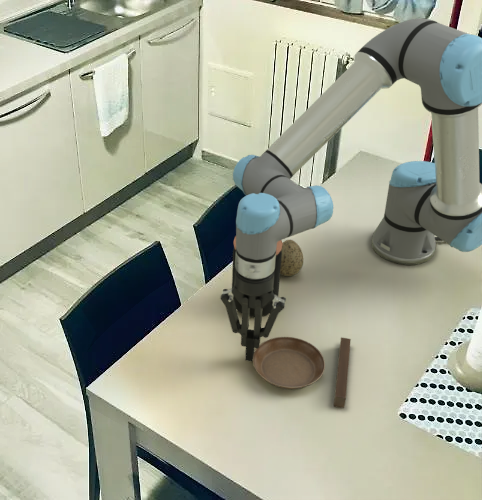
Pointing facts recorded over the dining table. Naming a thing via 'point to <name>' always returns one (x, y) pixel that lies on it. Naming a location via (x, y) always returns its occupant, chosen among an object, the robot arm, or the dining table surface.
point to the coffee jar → (277, 269)
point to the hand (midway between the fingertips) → (249, 356)
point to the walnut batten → (342, 373)
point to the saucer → (288, 362)
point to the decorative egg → (291, 258)
